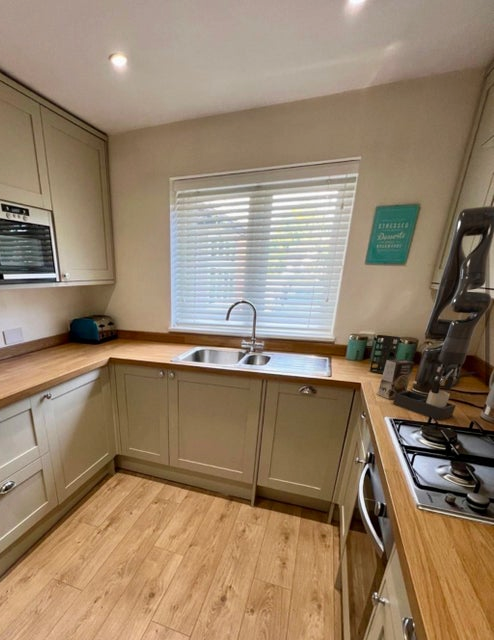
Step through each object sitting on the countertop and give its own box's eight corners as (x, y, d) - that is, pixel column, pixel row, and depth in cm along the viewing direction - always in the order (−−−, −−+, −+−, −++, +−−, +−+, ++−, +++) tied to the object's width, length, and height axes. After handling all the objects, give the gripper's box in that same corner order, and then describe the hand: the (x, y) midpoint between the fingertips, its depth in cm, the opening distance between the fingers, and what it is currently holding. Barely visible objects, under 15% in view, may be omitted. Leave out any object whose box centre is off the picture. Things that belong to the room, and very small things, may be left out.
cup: (429, 407, 133) (435, 389, 130) (446, 413, 128) (453, 394, 125) (420, 410, 130) (426, 391, 127) (437, 416, 125) (444, 396, 122)
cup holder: (405, 400, 142) (408, 390, 140) (452, 416, 128) (455, 405, 126) (392, 404, 138) (395, 393, 136) (439, 420, 124) (443, 409, 122)
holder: (370, 372, 179) (379, 335, 174) (367, 370, 186) (375, 334, 181) (393, 375, 176) (402, 337, 171) (389, 372, 183) (398, 336, 178)
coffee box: (388, 399, 143) (398, 363, 137) (376, 394, 148) (385, 359, 142) (405, 397, 145) (415, 362, 139) (393, 392, 151) (402, 358, 145)
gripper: (456, 354, 114) (441, 397, 120) (476, 349, 120) (461, 391, 126) (432, 349, 120) (419, 391, 126) (453, 345, 126) (440, 385, 132)
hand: (440, 391), depth 126 cm, fingers open, 8 cm apart
